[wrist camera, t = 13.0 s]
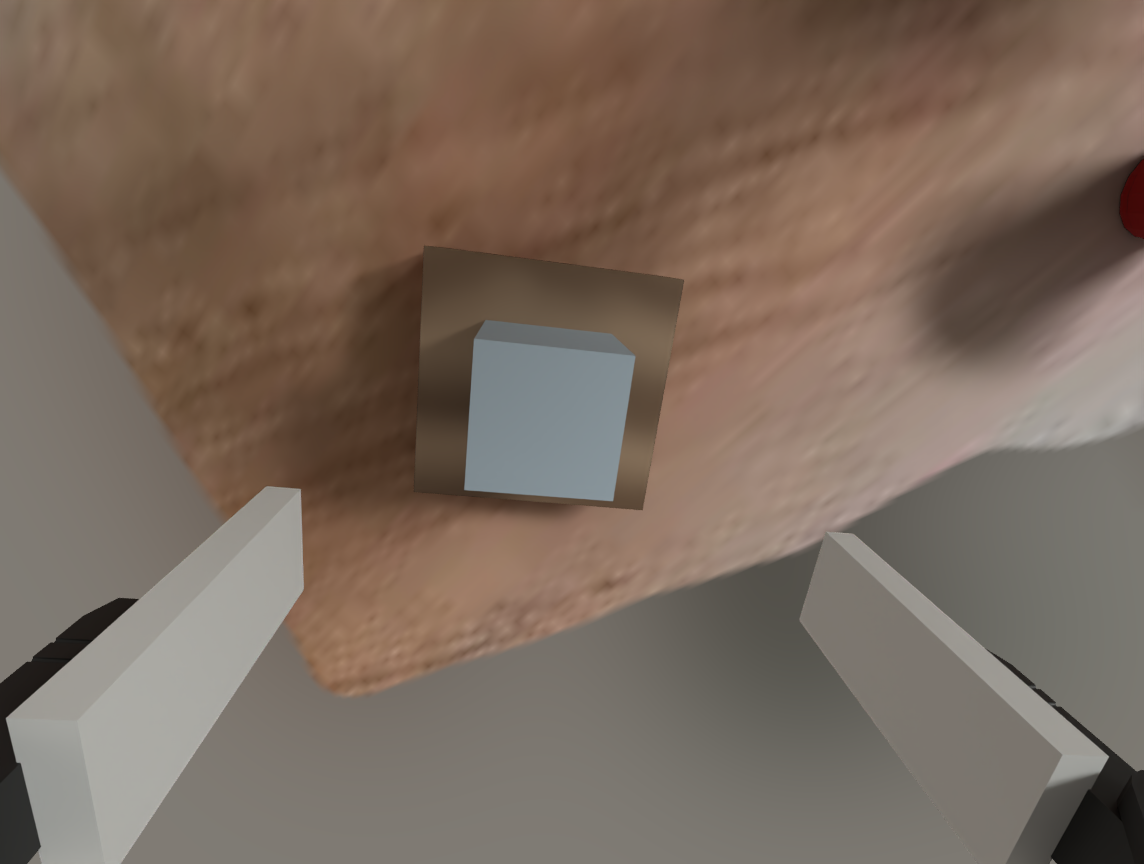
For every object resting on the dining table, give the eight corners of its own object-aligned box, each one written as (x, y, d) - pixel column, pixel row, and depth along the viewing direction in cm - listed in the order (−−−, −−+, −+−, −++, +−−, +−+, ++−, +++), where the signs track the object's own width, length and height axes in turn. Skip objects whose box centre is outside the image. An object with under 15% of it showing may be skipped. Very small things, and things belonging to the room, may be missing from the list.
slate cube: (485, 319, 30) (473, 338, 23) (611, 333, 30) (635, 355, 24) (477, 440, 32) (464, 490, 25) (595, 450, 32) (612, 501, 26)
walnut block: (438, 247, 33) (423, 245, 28) (662, 276, 34) (684, 279, 30) (428, 461, 37) (413, 491, 32) (628, 478, 39) (642, 510, 34)
